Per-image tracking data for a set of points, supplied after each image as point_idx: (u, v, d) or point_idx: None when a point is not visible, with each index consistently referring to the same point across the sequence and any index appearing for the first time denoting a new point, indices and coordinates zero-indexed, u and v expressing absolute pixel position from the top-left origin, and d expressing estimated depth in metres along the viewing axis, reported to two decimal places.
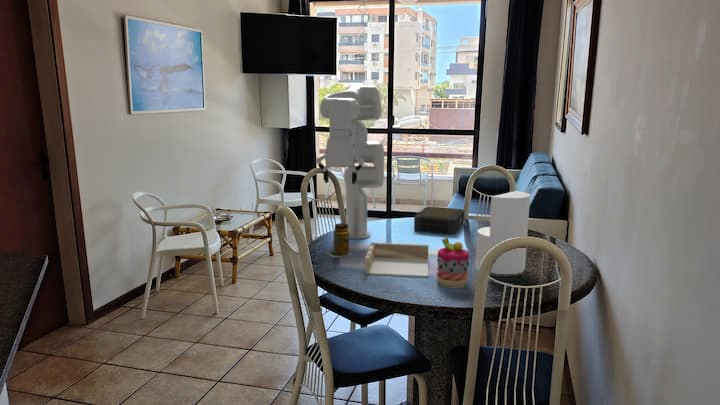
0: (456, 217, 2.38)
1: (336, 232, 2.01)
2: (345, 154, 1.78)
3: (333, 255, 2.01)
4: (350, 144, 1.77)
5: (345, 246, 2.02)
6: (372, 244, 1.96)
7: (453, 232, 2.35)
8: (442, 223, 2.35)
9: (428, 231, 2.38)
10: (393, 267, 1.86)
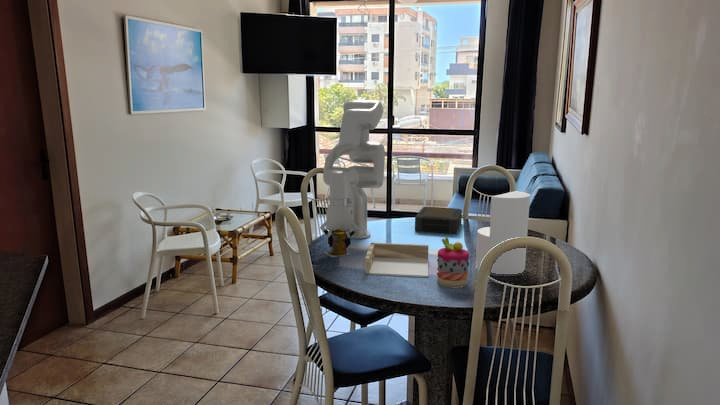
0: (457, 217, 2.39)
1: (334, 232, 2.01)
2: (344, 220, 1.99)
3: (332, 255, 2.01)
4: (348, 211, 1.98)
5: (343, 246, 2.02)
6: (372, 244, 1.96)
7: (455, 232, 2.35)
8: (444, 223, 2.35)
9: (429, 231, 2.38)
10: (393, 267, 1.86)
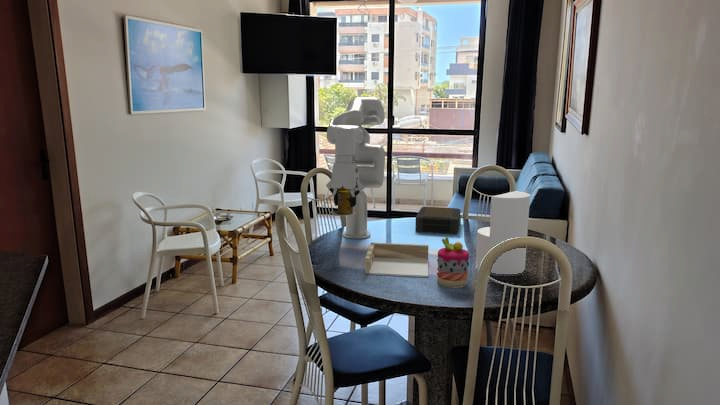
0: (457, 216, 2.39)
1: (339, 190, 1.97)
2: (348, 178, 1.94)
3: (335, 214, 1.97)
4: (352, 169, 1.93)
5: (347, 205, 1.96)
6: (372, 244, 1.96)
7: (456, 231, 2.36)
8: (445, 223, 2.36)
9: (430, 231, 2.38)
10: (393, 267, 1.86)
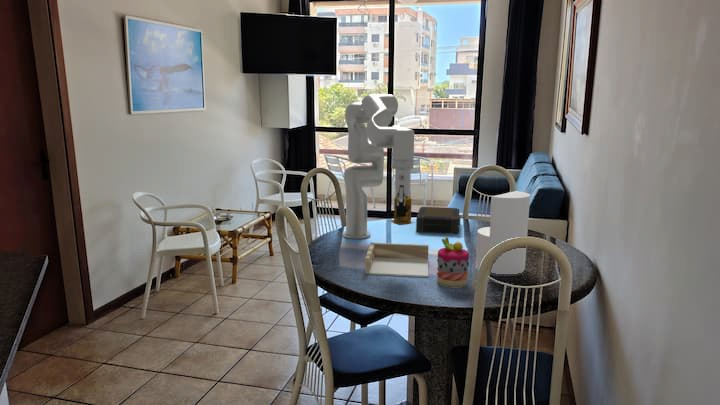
0: (458, 216, 2.40)
1: None
2: None
3: (392, 220, 1.86)
4: (396, 174, 1.76)
5: (395, 213, 1.81)
6: (372, 244, 1.96)
7: (457, 231, 2.36)
8: (446, 223, 2.36)
9: (431, 231, 2.38)
10: (393, 267, 1.86)
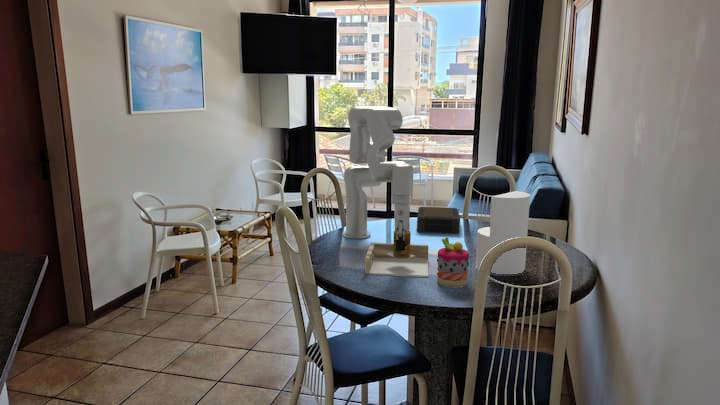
0: (458, 216, 2.40)
1: None
2: (394, 218, 1.81)
3: (391, 253, 1.88)
4: (395, 209, 1.79)
5: (395, 247, 1.83)
6: (372, 244, 1.96)
7: (458, 231, 2.37)
8: (447, 223, 2.36)
9: (432, 231, 2.38)
10: (393, 267, 1.86)
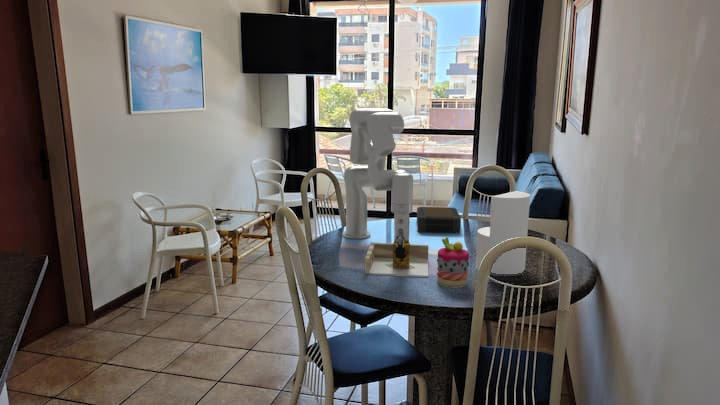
0: (459, 216, 2.41)
1: None
2: None
3: (391, 264, 1.90)
4: (395, 218, 1.79)
5: (394, 258, 1.85)
6: (372, 244, 1.96)
7: (458, 231, 2.37)
8: (448, 223, 2.36)
9: (433, 231, 2.38)
10: None
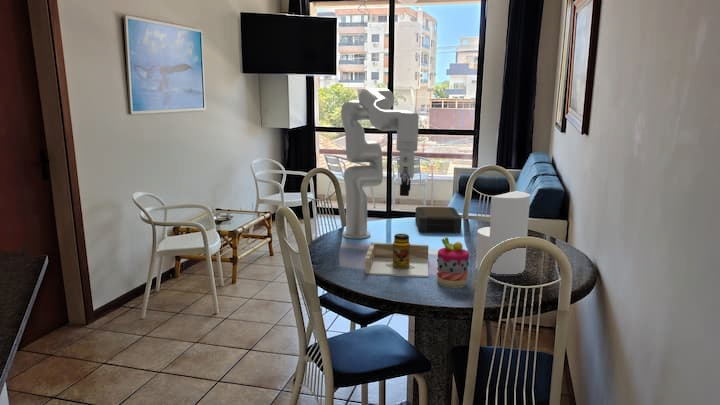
0: (459, 215, 2.41)
1: None
2: None
3: (391, 264, 1.90)
4: (400, 156, 1.82)
5: (394, 258, 1.85)
6: (372, 244, 1.96)
7: (459, 230, 2.38)
8: (449, 223, 2.37)
9: (434, 231, 2.38)
10: None
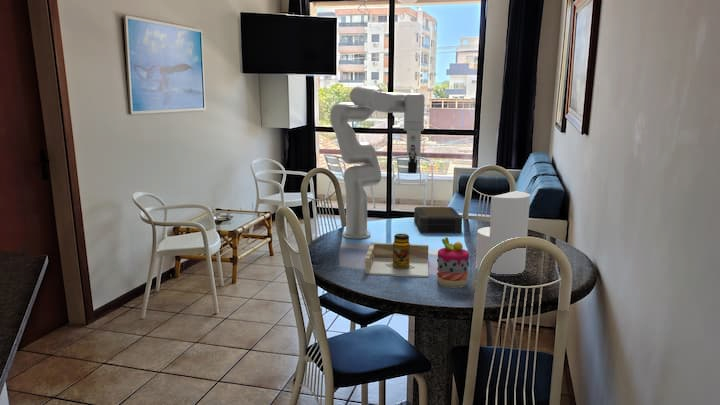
0: (459, 215, 2.42)
1: None
2: None
3: (391, 264, 1.90)
4: (407, 135, 1.92)
5: (394, 258, 1.85)
6: (372, 244, 1.96)
7: (460, 230, 2.38)
8: (450, 222, 2.37)
9: (435, 231, 2.38)
10: None
